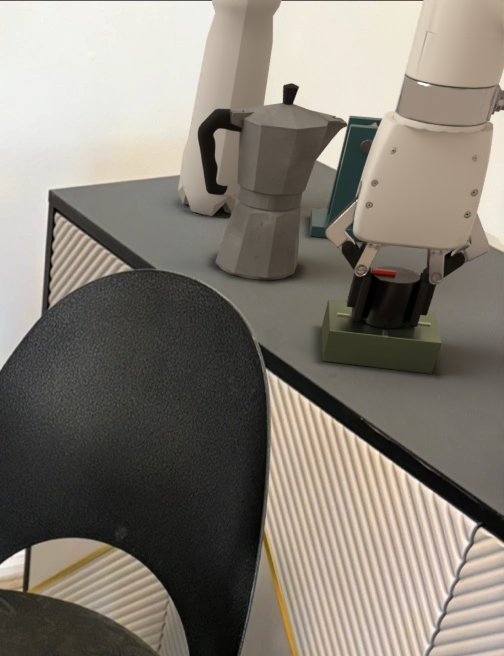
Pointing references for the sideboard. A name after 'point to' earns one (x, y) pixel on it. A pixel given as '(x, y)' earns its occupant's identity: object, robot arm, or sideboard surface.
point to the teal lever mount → (346, 173)
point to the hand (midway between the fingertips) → (384, 316)
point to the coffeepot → (266, 181)
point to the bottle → (227, 94)
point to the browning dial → (390, 297)
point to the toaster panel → (379, 341)
